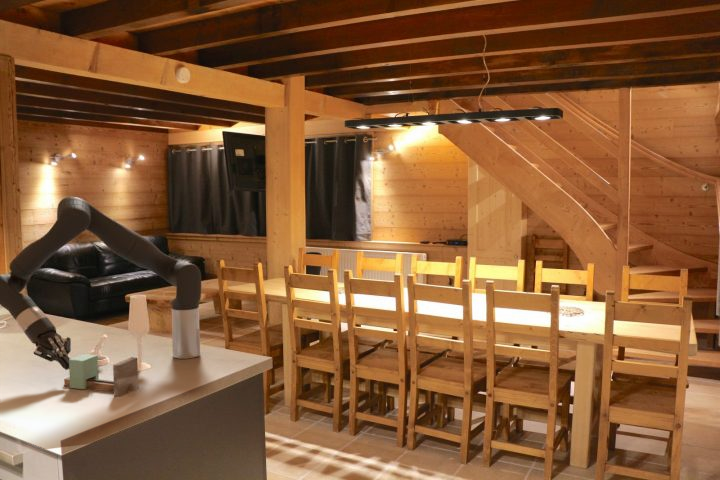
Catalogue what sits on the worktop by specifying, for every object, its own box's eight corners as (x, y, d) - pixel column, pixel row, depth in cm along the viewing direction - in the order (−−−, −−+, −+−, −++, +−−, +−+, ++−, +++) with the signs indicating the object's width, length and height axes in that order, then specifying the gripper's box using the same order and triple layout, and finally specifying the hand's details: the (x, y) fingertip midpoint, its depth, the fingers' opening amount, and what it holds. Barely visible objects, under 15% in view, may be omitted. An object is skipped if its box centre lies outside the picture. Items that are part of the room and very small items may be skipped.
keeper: (69, 387, 173) (68, 359, 172) (85, 380, 179) (84, 353, 178) (83, 389, 172) (82, 361, 171) (98, 382, 177) (97, 355, 177)
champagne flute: (128, 371, 189) (125, 298, 187) (130, 365, 196) (128, 294, 193) (150, 369, 191) (148, 297, 189) (151, 363, 197) (149, 293, 195)
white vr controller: (117, 351, 194) (98, 341, 192) (99, 378, 196) (79, 368, 194) (123, 341, 201) (105, 330, 199) (106, 366, 203) (87, 356, 201)
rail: (57, 388, 173) (56, 358, 172) (78, 379, 181) (77, 351, 180) (120, 396, 167) (118, 365, 166) (138, 387, 174) (137, 357, 174)
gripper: (46, 327, 186) (79, 369, 183) (10, 337, 173) (45, 382, 171) (59, 312, 184) (92, 353, 181) (24, 321, 171) (59, 366, 169)
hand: (69, 367), depth 176 cm, fingers closed
